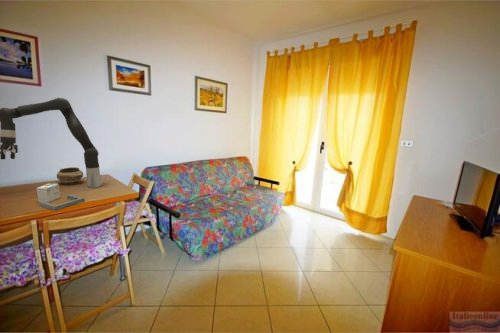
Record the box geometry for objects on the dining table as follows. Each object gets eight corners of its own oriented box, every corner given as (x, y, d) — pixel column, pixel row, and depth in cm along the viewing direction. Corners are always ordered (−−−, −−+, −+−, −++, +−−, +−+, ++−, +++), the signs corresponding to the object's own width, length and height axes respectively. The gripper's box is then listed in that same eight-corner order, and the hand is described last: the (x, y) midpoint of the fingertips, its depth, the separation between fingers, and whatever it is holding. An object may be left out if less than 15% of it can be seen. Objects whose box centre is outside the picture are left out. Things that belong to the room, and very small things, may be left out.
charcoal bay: (69, 197, 159) (69, 194, 159) (84, 201, 154) (84, 198, 154) (39, 205, 143) (39, 202, 142) (55, 210, 138) (54, 206, 137)
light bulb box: (50, 197, 158) (48, 183, 156) (60, 197, 158) (58, 183, 156) (37, 202, 147) (35, 187, 145) (48, 202, 148) (46, 188, 146)
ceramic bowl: (54, 185, 189) (46, 170, 183) (75, 176, 204) (69, 162, 197) (72, 190, 181) (65, 174, 174) (92, 180, 196) (86, 165, 189)
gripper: (6, 136, 147) (6, 160, 148) (22, 137, 161) (21, 158, 162) (-8, 135, 145) (-8, 159, 146) (9, 136, 158) (9, 158, 159)
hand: (8, 159), depth 154 cm, fingers open, 8 cm apart
